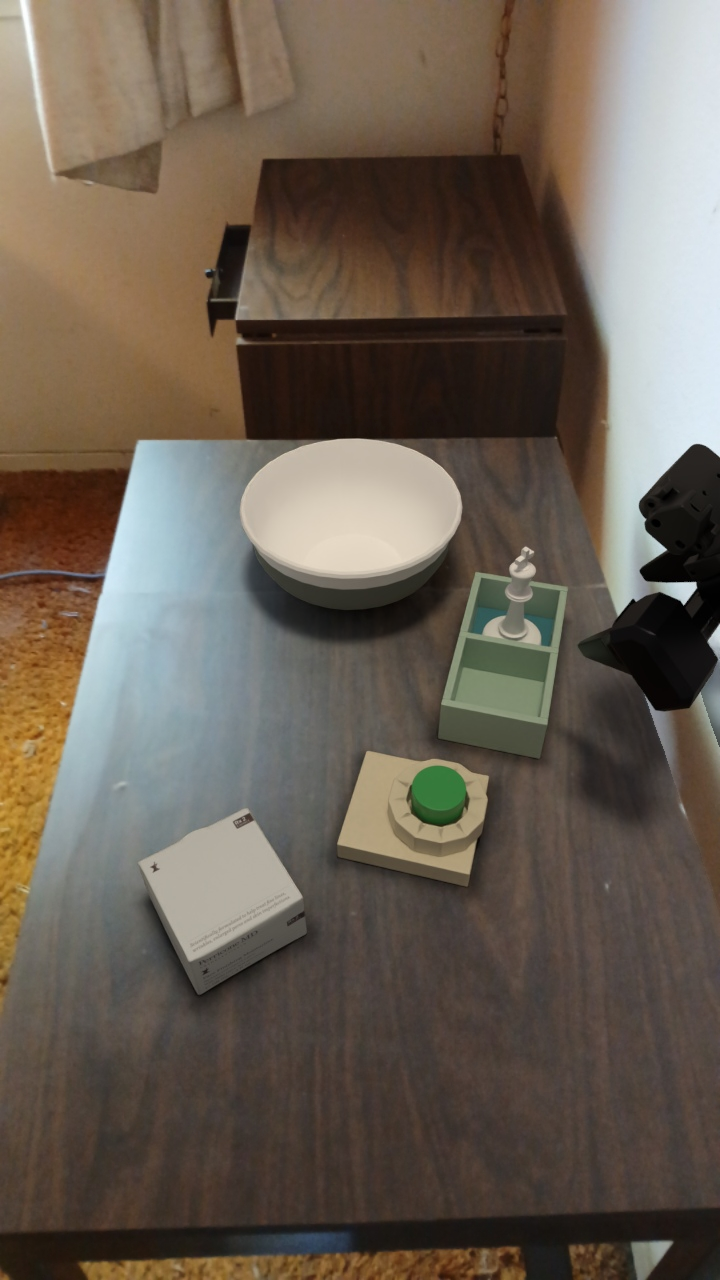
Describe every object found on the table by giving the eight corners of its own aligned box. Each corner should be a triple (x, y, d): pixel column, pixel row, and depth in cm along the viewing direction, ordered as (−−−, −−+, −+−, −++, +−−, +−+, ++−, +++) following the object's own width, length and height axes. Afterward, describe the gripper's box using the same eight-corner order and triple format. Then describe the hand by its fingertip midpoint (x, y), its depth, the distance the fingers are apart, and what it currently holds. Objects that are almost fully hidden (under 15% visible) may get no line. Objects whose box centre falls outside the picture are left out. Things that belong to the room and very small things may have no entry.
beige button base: (490, 790, 64) (495, 761, 62) (471, 888, 59) (475, 861, 56) (366, 763, 66) (366, 735, 63) (337, 857, 61) (335, 829, 58)
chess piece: (468, 640, 73) (478, 548, 66) (507, 611, 76) (521, 519, 68) (514, 673, 71) (530, 580, 64) (553, 642, 73) (573, 549, 66)
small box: (198, 1000, 54) (185, 964, 50) (149, 899, 59) (133, 859, 55) (310, 935, 57) (305, 897, 53) (254, 843, 61) (246, 802, 58)
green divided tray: (471, 606, 77) (475, 571, 74) (560, 621, 76) (568, 586, 73) (437, 738, 67) (440, 704, 64) (539, 759, 66) (547, 725, 63)
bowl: (254, 659, 73) (243, 586, 67) (245, 518, 86) (235, 446, 80) (476, 636, 75) (485, 563, 69) (435, 501, 88) (439, 429, 82)
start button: (468, 785, 61) (470, 771, 59) (459, 830, 58) (461, 815, 57) (417, 775, 61) (418, 760, 60) (405, 818, 59) (406, 804, 58)
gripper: (812, 362, 53) (615, 453, 66) (676, 527, 44) (477, 596, 57) (899, 512, 56) (691, 572, 69) (787, 701, 46) (571, 728, 59)
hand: (613, 610), depth 63 cm, fingers open, 9 cm apart
